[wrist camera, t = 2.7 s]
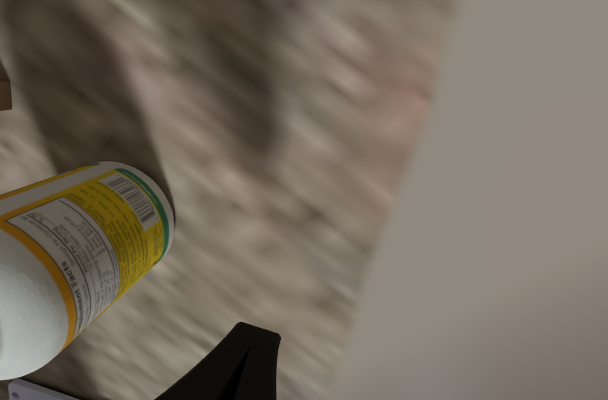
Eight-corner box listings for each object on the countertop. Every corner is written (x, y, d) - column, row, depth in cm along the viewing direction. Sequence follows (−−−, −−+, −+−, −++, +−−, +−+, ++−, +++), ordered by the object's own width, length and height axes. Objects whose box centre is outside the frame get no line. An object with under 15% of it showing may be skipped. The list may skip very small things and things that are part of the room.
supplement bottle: (181, 173, 16) (-66, 314, 7) (175, 277, 18) (-21, 490, 9) (67, 146, 16) (-300, 245, 7) (74, 250, 18) (-209, 427, 9)
